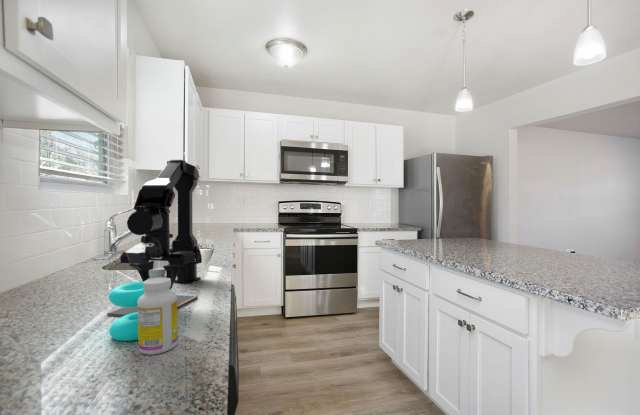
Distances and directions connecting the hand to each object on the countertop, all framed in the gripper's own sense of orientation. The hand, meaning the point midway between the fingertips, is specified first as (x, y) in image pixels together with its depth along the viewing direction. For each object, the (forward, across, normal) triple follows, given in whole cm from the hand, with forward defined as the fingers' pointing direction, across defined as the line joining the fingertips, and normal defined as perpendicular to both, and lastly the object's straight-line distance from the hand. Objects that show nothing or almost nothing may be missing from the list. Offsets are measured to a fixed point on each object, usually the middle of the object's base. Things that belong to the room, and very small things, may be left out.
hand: (158, 289), depth 82 cm
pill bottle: (+4, 0, 0) cm, 4 cm away
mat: (+4, 0, -1) cm, 4 cm away
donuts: (+4, +8, -16) cm, 19 cm away
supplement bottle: (+4, +17, -21) cm, 27 cm away
